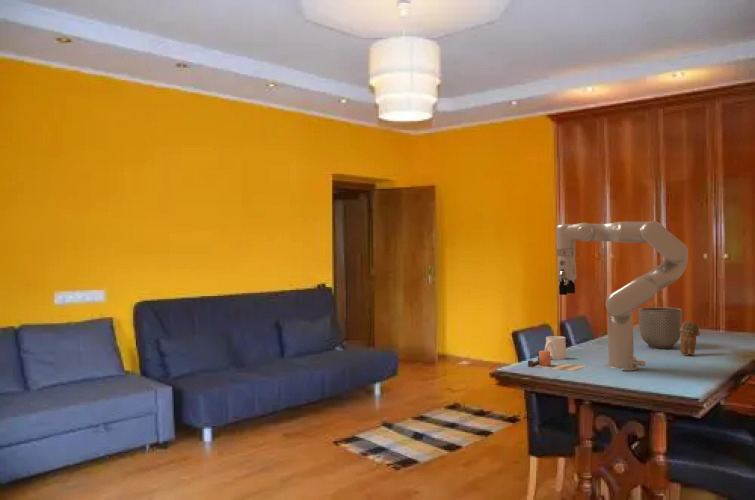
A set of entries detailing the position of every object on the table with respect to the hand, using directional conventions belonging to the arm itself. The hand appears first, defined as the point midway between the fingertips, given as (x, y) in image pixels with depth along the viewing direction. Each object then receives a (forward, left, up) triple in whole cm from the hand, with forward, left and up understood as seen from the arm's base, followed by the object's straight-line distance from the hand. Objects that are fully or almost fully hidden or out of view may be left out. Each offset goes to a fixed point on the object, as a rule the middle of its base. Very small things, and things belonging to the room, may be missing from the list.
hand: (567, 294), depth 259 cm
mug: (+10, -9, -31) cm, 33 cm away
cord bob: (+7, +10, -30) cm, 33 cm away
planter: (-22, -69, -31) cm, 79 cm away
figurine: (-38, -51, -31) cm, 71 cm away
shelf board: (+2, +10, -30) cm, 32 cm away
